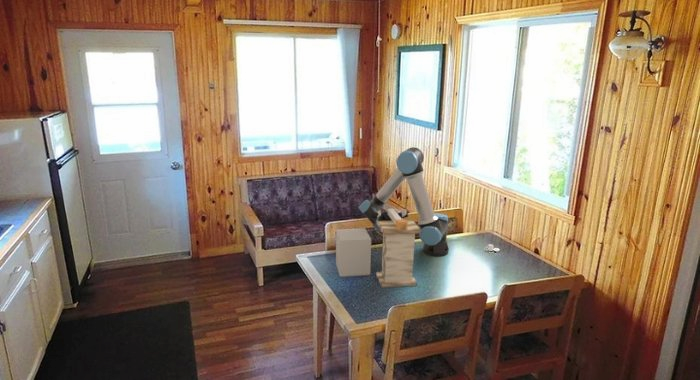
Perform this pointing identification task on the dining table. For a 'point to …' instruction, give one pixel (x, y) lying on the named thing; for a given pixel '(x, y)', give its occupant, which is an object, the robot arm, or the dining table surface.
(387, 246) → the parchment scroll
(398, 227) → the plug bar
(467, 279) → the dining table surface
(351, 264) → the tall block
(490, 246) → the teacup and saucer
